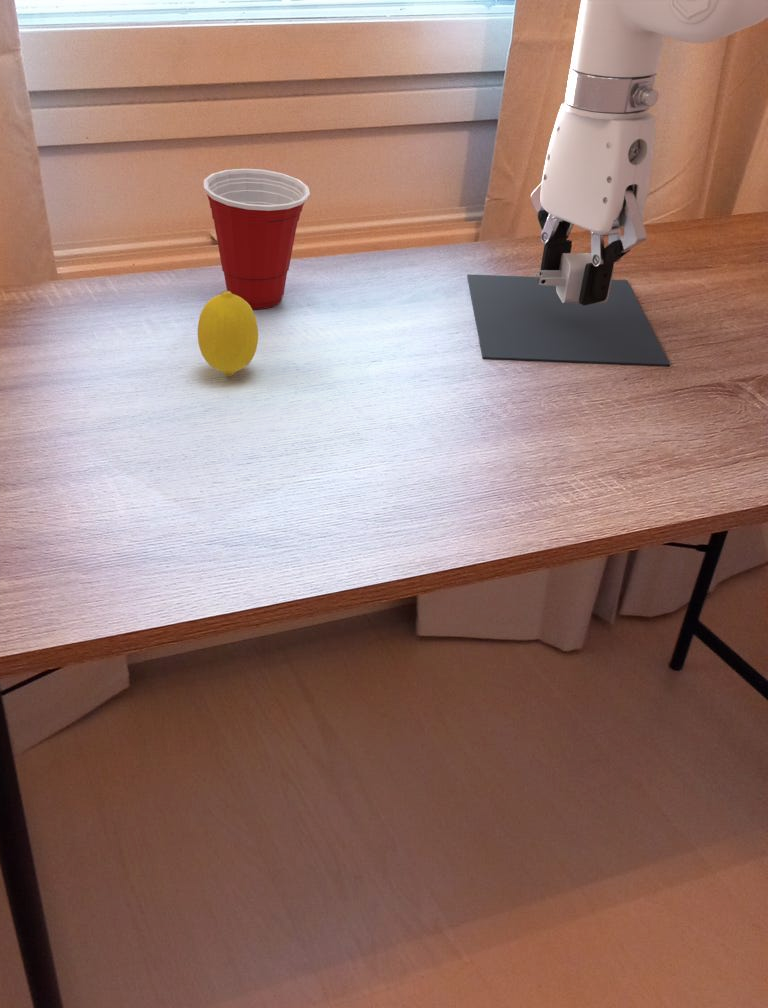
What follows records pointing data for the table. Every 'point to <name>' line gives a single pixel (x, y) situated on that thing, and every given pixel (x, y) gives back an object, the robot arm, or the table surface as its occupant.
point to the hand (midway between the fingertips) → (571, 290)
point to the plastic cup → (255, 230)
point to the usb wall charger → (569, 276)
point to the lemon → (227, 333)
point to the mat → (560, 324)
